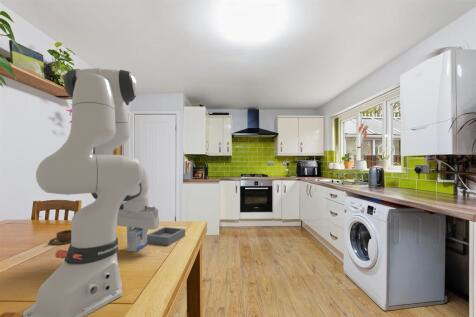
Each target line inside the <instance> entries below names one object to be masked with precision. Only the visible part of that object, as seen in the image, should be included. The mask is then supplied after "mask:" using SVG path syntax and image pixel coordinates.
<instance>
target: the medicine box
mask: <svg viewBox="0 0 476 317" xmlns="http://www.w3.org/2000/svg"><path fill="white" fill-rule="evenodd" d="M142 233H143V231H142V228H134V227H133V228H132V229H131V230H128V231H127V230H126V251H128V252H134V253H135V252H139V251H140V250H142V249H143V248H145V247H146V246H148V243H147V235H148V232H147V233H146V238H144V239H141V238H140V237H141V236H140V235H141V234H142Z"/></svg>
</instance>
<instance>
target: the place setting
mask: <svg viewBox="0 0 476 317" xmlns="http://www.w3.org/2000/svg"><path fill="white" fill-rule="evenodd" d="M55 240H56V241H58V242H56V241H55ZM49 244H50V245H52V246H63V245H64V246H65V245H70V244H71V229H68V230H67V229H66V230H60V231H58V232H56V237H53V238H51V239H50V240H49ZM47 247H48V245H45V246H44V248H47Z"/></svg>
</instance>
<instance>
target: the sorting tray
mask: <svg viewBox="0 0 476 317" xmlns="http://www.w3.org/2000/svg"><path fill="white" fill-rule="evenodd" d="M185 237H186V229H185V228H181V227H179V228H178V227H170V226H164V227H161V228H159V229H157V230H156V229H155V230H154V231H153V232H150V233H147V244H155V245H163V246H168V247H169V246H171V245H172V244H174V243H176V242H177V241H179V240H180V239H182V238H185Z"/></svg>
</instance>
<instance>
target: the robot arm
mask: <svg viewBox="0 0 476 317" xmlns="http://www.w3.org/2000/svg"><path fill="white" fill-rule="evenodd" d="M137 82H138V81H137V80H136V78H135V75H134V74H133V73H132V72H131V71H128V70H124V69H120V70H119V69H118V70H117V69H111V68H109V69H107V68H101V67H100V68H82V69H80V68H74V69H70V70H68V71H66V73H65V74H64V76H63V85H64V89H65V91H66V92H65V93H66V94H67V95H68V96H69V97H70V98H71V99H72V101H71V122H70V123H71V124H70V132H69V135H68V136H67V139H66V140H65V142H64V144H63V145H62V146H60V147H59V149H57V150H56V151H55V152H53V153H52V154H50V155H48V156H47V157H45V158H44V159H42V161H41V162H40V163H39V164H38V166H37V169H36V171H35V172H36V173H35V179H36V182H37V184H38V186H39V187H40V189H42V191H43V192H45V193H47V194H54V195H55V194H56V195H65V196H66V195H67V196H68V195H82V194H83V195H85V194H91V196H92V197H93V199H95V200H94V201H93V202H92V203H90V204H87V205H85V206H83V207H82V208H80V209H79V210H78V211H76V212H75V213H74V214H73V216H72V217H71V221H70V223H71V229H70V230H71V243H70V244H69V247H68V249H67V250H64V249H58V250H56V252H55V253H54V257H55V258H58V259H61V260H62V259H63V262H62V264H60V265H59V267H58V268H57V269H55V271H54V272H52V273H51V275H50V276H49V277H48V278H47V279H46V280H45V281H44V282H43V283H42V284H41V285H40V286H39V288H38V291H37V294H36V297H35V303H34V304H33V305H31V306H30V307H28V308H26V309H25V310H24V311H23V313H22V317H86V316H87V315H89V314H91V313H94V312H95V311H97V310H99V309H100V308H103V307H105V306H106V305H108V304H110V303H112V302H113V301H115V300H116V299H118V298H121V297H122V296H123V289H122V288H123V281H122V279H121V278H122V277H121V274H120V269H119V261H118V260H119V259H118V253H117V252H118V251H119V238H118V236H117V227H126V232H127V231H128V230H131V229H133V228H142V231H143V233H142V234H141V235H140V236H141V237H140V238H141V239H144V238H146V233H147V234H148V231H149V230H151V231H152V230H154V231H155V230H156V229H158V228H159V227H160V216H159V210H158V208H156V207H155V206H149V195H148V194H149V193H148V191H149V174H148V172H147V170H146V169H143V168H144V167H143V166H142V164H141V162H140V160H138V158H137V157H133V156H129V155H128V156H127V155H123V154H112V153H113V152H114V151H115V150H116V149H118V148H119V147H120V148H121V146H123V145H124V144H125V143H126V142H127V141H128V140H129V138H130V135H131V129H130V128H131V127H130V120H129V114H128V109H127V106H129V104H130V102H132V101H134V100H135V99H136V97H137V94H138V89H139V88H138V86H139V85H138V83H137Z"/></svg>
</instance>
